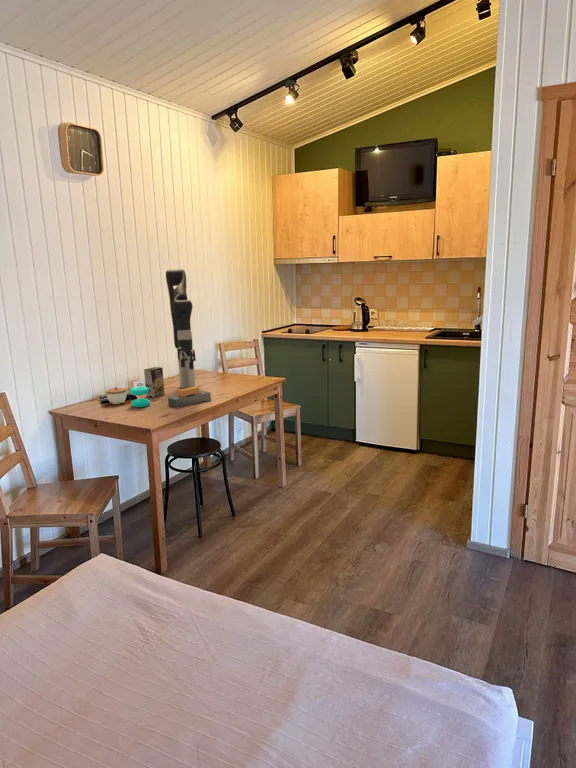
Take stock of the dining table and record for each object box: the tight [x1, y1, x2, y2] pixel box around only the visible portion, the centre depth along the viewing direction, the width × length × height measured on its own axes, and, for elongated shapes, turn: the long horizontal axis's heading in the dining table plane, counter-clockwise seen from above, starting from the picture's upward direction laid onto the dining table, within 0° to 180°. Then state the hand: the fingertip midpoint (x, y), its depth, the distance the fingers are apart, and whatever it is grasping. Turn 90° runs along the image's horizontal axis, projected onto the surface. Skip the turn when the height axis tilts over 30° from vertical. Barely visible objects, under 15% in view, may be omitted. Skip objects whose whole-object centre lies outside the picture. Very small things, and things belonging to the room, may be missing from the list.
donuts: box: [129, 385, 151, 408], centre depth 291 cm, size 10×10×10 cm
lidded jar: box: [105, 386, 127, 405], centre depth 299 cm, size 11×11×9 cm
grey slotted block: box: [167, 389, 212, 409], centre depth 294 cm, size 8×22×4 cm, turn 132°
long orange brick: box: [177, 386, 200, 398], centre depth 293 cm, size 4×11×8 cm, turn 132°
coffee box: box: [143, 366, 165, 398], centre depth 315 cm, size 9×6×16 cm
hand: (187, 368), depth 290 cm, fingers open, 8 cm apart
